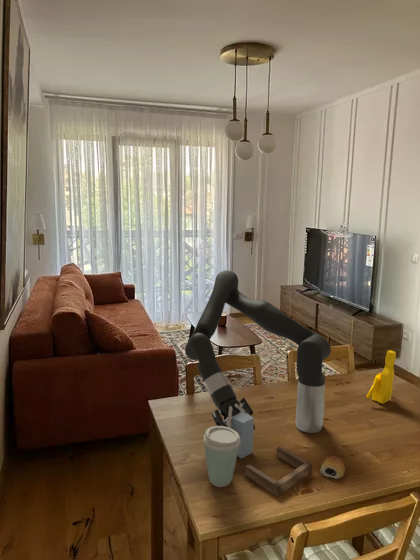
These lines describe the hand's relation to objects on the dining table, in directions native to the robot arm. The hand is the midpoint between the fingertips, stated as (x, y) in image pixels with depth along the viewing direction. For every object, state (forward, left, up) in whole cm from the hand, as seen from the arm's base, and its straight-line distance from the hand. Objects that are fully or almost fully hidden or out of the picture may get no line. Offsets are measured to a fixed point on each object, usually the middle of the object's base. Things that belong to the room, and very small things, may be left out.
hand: (244, 435), depth 134 cm
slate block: (0, -1, -6) cm, 6 cm away
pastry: (-14, +24, -7) cm, 28 cm away
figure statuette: (-71, +12, -7) cm, 72 cm away
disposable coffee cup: (+15, +5, -7) cm, 17 cm away
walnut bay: (0, +14, -6) cm, 15 cm away
